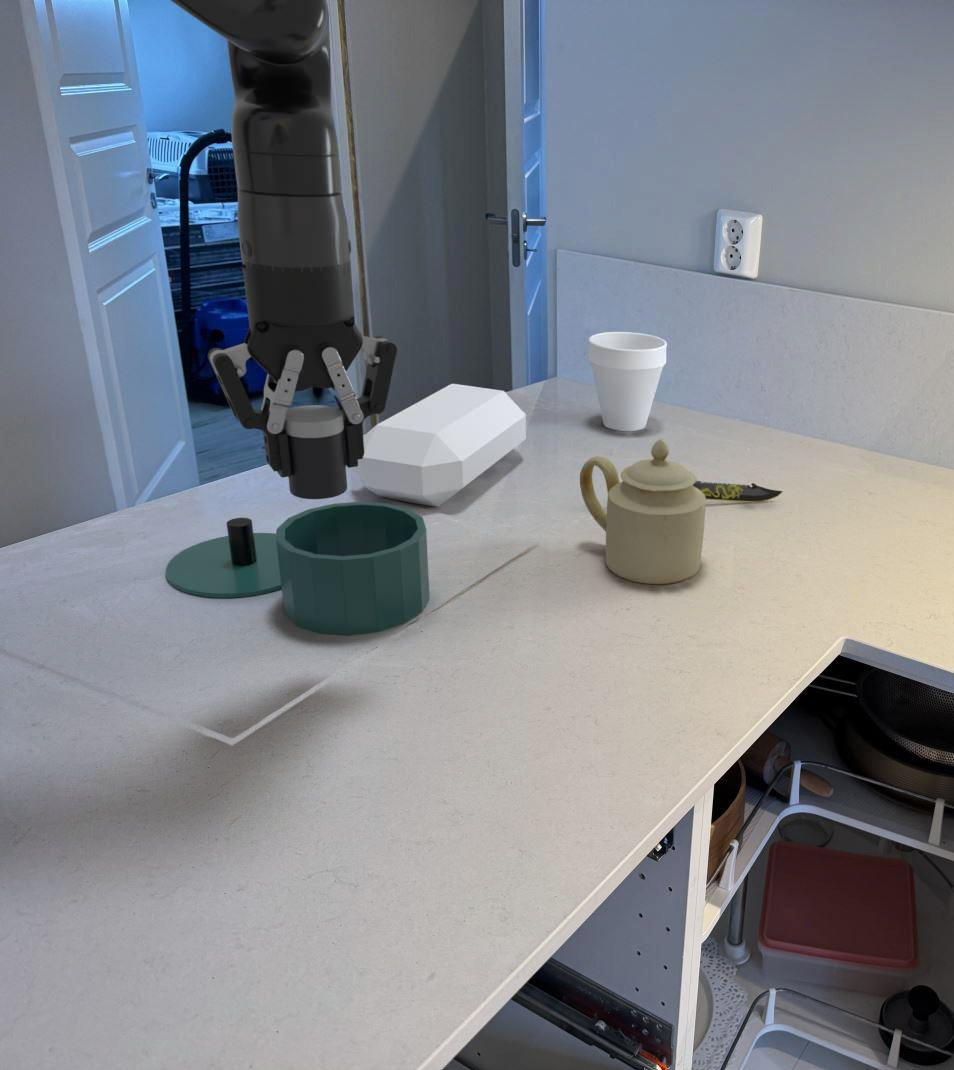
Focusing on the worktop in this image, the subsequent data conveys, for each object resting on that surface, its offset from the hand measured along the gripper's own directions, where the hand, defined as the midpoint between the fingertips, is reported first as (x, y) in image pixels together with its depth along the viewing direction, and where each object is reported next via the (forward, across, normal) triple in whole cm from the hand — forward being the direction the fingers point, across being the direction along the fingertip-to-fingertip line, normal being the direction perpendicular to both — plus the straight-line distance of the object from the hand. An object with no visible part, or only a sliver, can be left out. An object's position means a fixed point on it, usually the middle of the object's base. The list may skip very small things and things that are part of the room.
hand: (317, 468), depth 81 cm
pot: (+19, -6, -11) cm, 23 cm away
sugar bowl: (+20, -36, -7) cm, 41 cm away
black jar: (+2, 0, 0) cm, 2 cm away
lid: (+19, +2, -24) cm, 31 cm away
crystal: (+20, -27, -41) cm, 53 cm away
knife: (+20, -52, -18) cm, 59 cm away
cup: (+20, -61, -51) cm, 82 cm away
